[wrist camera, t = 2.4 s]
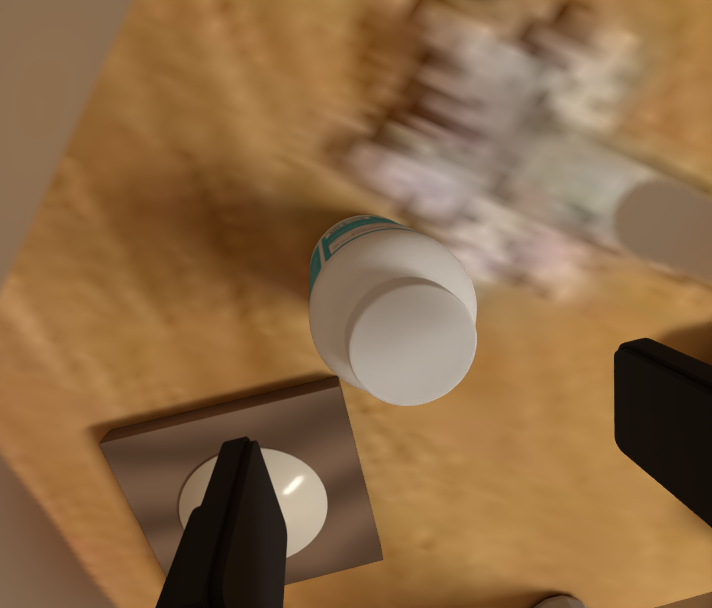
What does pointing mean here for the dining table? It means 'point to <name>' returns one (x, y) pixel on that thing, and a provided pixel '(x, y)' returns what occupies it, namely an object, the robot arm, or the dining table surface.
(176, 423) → the serving board
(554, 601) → the water bottle
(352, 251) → the pill bottle
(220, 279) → the dining table surface
